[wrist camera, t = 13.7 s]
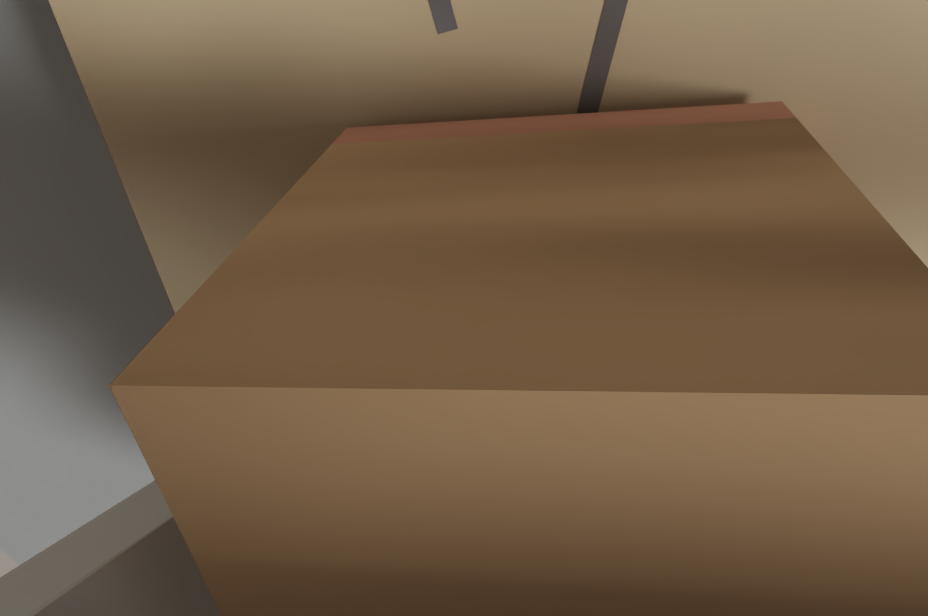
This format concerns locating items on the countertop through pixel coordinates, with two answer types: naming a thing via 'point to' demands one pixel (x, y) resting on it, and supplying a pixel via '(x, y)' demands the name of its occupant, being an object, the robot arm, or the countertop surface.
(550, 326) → the block
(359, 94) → the pine board
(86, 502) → the countertop surface
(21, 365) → the countertop surface
